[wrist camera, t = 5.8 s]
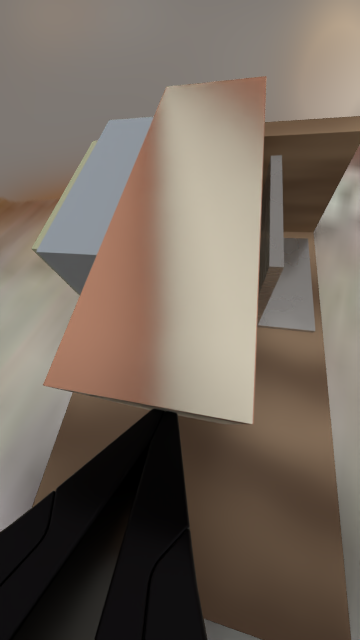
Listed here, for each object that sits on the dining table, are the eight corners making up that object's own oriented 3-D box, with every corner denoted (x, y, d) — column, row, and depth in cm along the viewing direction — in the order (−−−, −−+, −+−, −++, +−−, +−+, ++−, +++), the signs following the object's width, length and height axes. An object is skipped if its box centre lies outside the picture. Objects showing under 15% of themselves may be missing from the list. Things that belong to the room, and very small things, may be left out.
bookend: (313, 332, 15) (380, 272, 9) (247, 325, 15) (269, 266, 10) (306, 241, 18) (352, 152, 12) (252, 239, 19) (270, 155, 13)
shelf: (340, 649, 10) (712, 1299, 2) (30, 541, 13) (-206, 693, 6) (307, 228, 20) (362, 115, 12) (138, 225, 23) (104, 133, 16)
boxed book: (225, 424, 13) (253, 424, 4) (152, 410, 14) (43, 385, 5) (240, 243, 19) (266, 76, 10) (187, 241, 20) (166, 86, 11)
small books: (154, 335, 16) (102, 255, 8) (97, 328, 17) (3, 250, 9) (178, 233, 20) (157, 116, 12) (131, 231, 21) (85, 122, 13)
